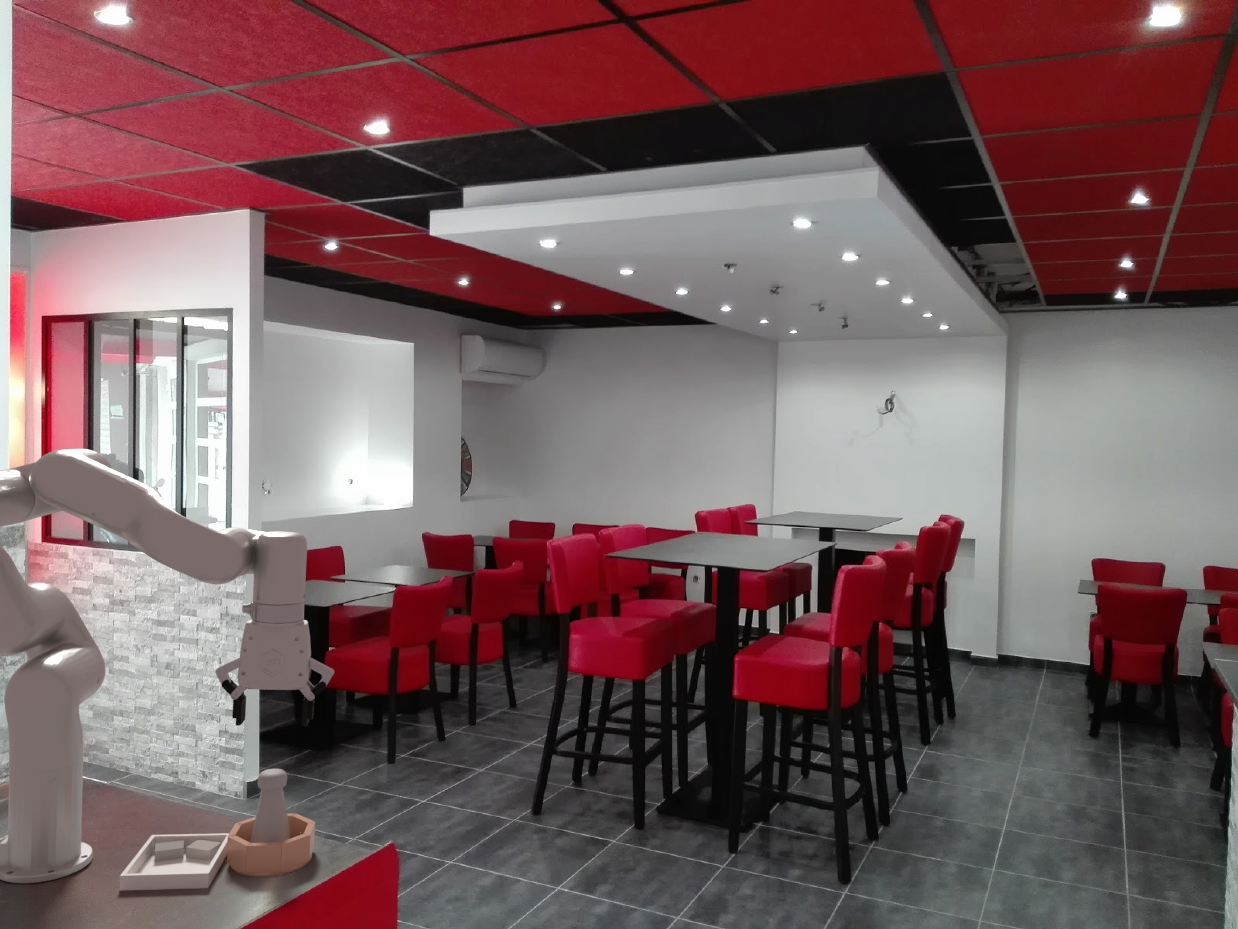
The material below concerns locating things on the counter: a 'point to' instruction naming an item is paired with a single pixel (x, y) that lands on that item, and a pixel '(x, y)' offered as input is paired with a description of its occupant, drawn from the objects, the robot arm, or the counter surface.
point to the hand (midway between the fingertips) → (273, 723)
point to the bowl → (271, 849)
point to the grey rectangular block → (169, 850)
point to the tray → (173, 865)
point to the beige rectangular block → (202, 850)
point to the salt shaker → (271, 808)
